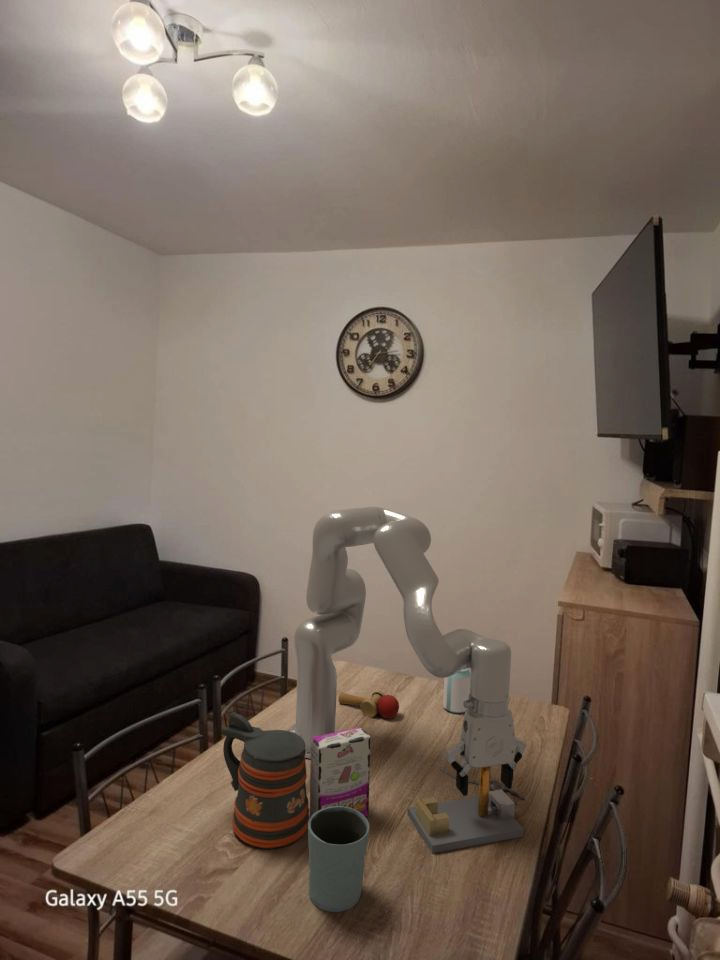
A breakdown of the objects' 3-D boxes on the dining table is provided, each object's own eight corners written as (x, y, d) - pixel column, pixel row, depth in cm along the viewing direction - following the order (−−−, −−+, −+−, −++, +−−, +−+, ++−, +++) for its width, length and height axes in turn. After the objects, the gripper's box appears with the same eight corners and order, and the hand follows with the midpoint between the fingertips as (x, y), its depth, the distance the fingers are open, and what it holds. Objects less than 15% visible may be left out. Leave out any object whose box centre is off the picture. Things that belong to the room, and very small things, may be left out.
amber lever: (480, 817, 123) (483, 768, 122) (475, 811, 125) (478, 763, 124) (511, 812, 125) (514, 763, 124) (506, 806, 127) (508, 758, 126)
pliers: (459, 752, 150) (538, 785, 138) (459, 756, 150) (538, 788, 138) (436, 768, 143) (518, 804, 130) (436, 772, 143) (518, 808, 130)
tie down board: (432, 853, 114) (432, 845, 114) (407, 814, 126) (407, 807, 126) (523, 836, 120) (523, 829, 120) (491, 800, 132) (492, 794, 132)
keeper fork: (429, 836, 117) (429, 820, 117) (415, 814, 123) (415, 800, 123) (448, 832, 118) (449, 817, 118) (433, 811, 125) (434, 797, 124)
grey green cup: (318, 866, 110) (320, 800, 109) (374, 880, 107) (376, 812, 106) (296, 907, 100) (298, 836, 99) (356, 924, 97) (359, 850, 96)
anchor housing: (500, 820, 123) (501, 805, 122) (487, 805, 127) (488, 791, 127) (513, 818, 123) (514, 803, 123) (500, 803, 128) (501, 789, 128)
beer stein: (197, 830, 119) (199, 727, 117) (240, 790, 132) (242, 698, 131) (285, 859, 112) (289, 750, 110) (321, 814, 125) (325, 716, 124)
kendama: (332, 714, 173) (390, 722, 163) (333, 690, 174) (390, 697, 164) (347, 709, 179) (404, 716, 170) (348, 686, 180) (404, 692, 171)
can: (453, 701, 180) (455, 660, 179) (473, 709, 175) (475, 667, 174) (437, 707, 176) (439, 666, 175) (457, 716, 170) (459, 673, 169)
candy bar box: (357, 802, 129) (360, 725, 128) (369, 816, 125) (372, 736, 124) (307, 816, 124) (309, 736, 123) (317, 830, 120) (320, 747, 118)
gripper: (457, 717, 116) (453, 806, 117) (538, 707, 122) (533, 792, 123) (439, 700, 123) (436, 784, 125) (517, 692, 129) (512, 772, 130)
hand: (484, 788), depth 124 cm, fingers open, 9 cm apart
